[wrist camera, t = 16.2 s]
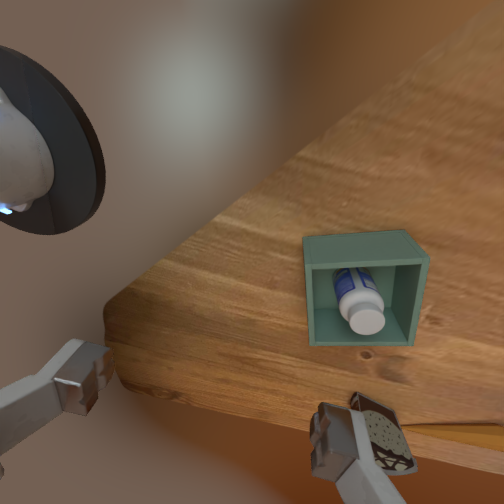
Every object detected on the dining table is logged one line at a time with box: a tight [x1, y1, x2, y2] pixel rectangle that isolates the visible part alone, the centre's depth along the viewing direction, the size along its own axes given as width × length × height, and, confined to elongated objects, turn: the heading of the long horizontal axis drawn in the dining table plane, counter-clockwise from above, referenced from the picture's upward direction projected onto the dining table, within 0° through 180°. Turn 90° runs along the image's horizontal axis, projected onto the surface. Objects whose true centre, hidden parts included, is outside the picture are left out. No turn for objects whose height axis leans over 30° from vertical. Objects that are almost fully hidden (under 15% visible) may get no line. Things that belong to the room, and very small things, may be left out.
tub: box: [303, 230, 430, 346], centre depth 37 cm, size 14×14×8 cm
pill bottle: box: [333, 267, 385, 335], centre depth 35 cm, size 5×5×10 cm
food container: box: [351, 392, 418, 475], centre depth 50 cm, size 12×6×10 cm, turn 61°
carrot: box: [400, 423, 504, 452], centre depth 53 cm, size 20×4×4 cm, turn 103°
